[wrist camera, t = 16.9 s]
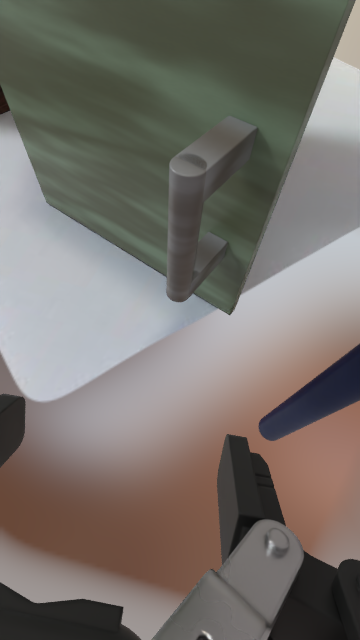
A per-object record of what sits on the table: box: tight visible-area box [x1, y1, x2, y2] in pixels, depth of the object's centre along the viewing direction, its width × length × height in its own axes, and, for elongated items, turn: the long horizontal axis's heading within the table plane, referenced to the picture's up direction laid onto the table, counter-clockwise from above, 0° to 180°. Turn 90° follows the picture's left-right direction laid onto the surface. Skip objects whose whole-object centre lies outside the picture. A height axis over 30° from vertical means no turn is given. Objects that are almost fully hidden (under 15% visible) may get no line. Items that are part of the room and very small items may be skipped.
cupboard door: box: [0, 0, 355, 315], centre depth 22 cm, size 7×26×24 cm, turn 54°
